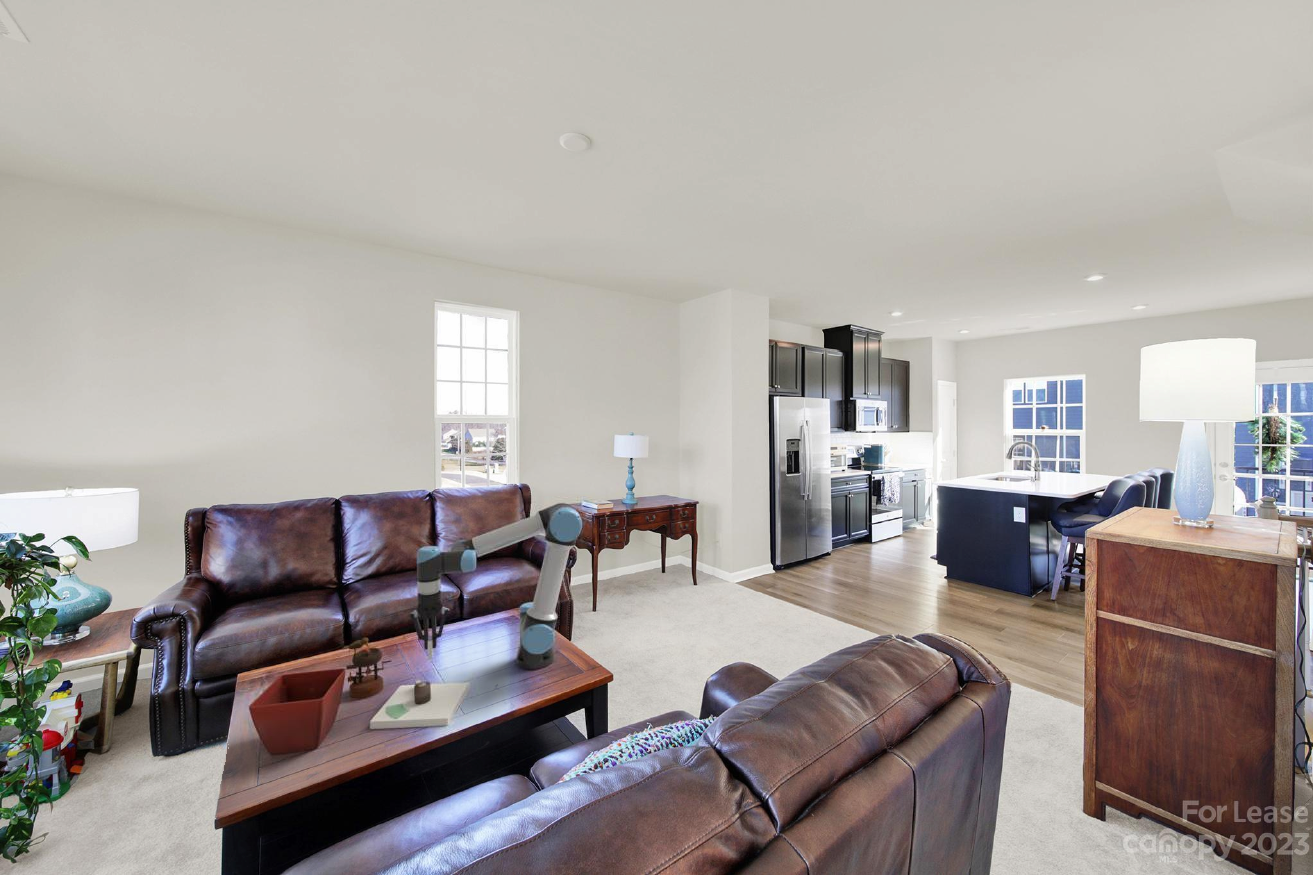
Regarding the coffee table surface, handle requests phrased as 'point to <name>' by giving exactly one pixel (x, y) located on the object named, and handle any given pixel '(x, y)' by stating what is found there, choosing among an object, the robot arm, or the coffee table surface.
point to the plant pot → (298, 710)
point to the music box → (369, 683)
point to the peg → (422, 692)
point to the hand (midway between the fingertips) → (430, 657)
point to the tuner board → (420, 707)
